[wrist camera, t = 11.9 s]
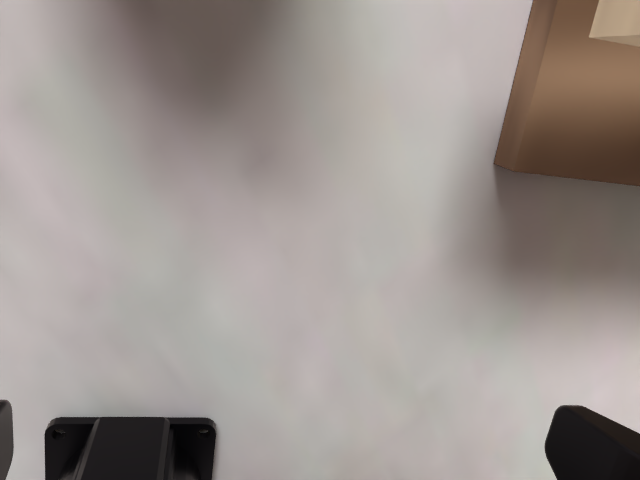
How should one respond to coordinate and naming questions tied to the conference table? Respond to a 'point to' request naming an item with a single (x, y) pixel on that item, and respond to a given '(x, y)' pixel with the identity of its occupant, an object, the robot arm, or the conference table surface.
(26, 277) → the conference table surface
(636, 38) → the beech stick
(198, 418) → the robot arm
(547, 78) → the balance stand
